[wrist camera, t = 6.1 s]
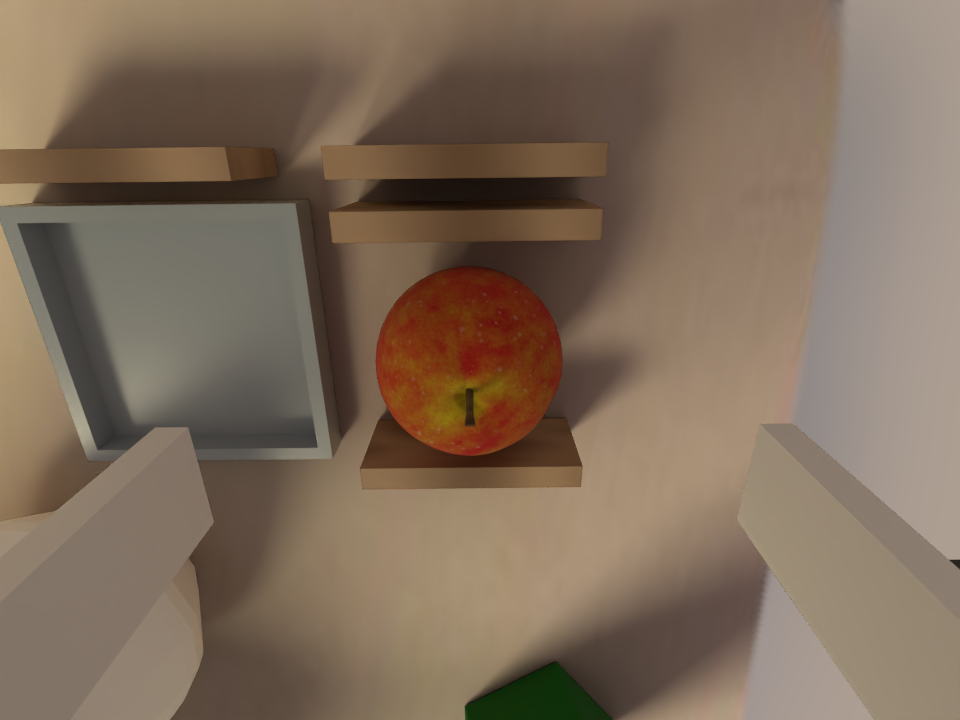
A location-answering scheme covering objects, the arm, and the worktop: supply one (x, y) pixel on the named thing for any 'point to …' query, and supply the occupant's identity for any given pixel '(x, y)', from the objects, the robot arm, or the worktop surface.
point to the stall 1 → (135, 164)
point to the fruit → (468, 360)
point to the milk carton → (538, 699)
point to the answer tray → (183, 323)
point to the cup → (142, 648)
